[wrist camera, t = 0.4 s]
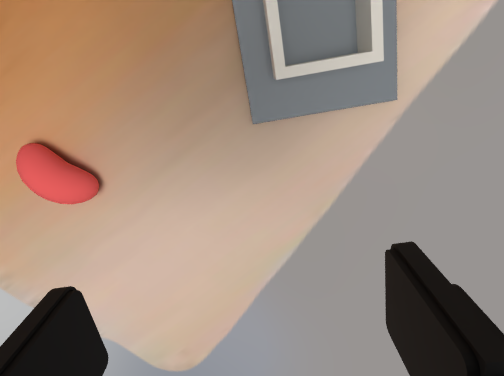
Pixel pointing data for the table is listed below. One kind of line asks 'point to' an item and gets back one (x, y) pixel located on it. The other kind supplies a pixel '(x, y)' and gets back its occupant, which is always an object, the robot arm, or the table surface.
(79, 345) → the robot arm
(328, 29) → the socket
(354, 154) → the table surface
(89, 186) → the red bean shape
